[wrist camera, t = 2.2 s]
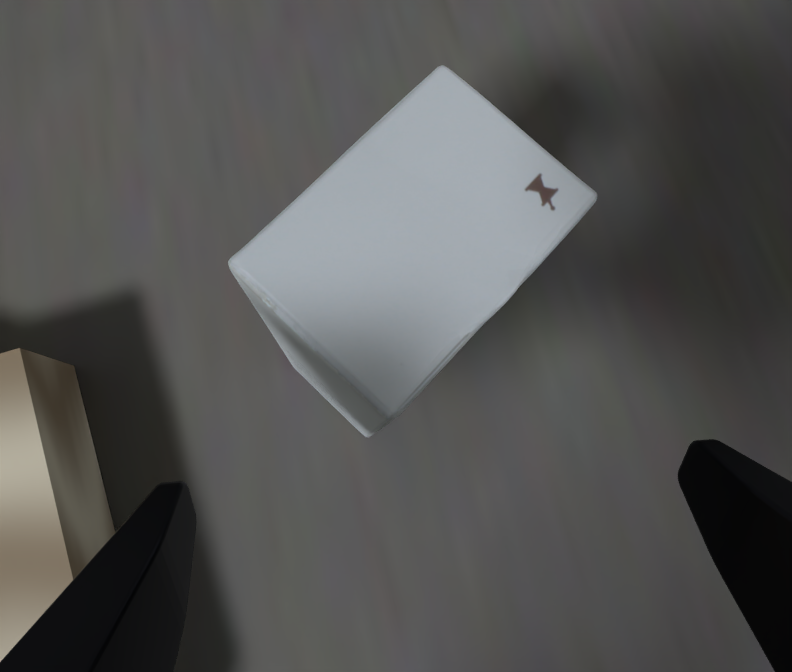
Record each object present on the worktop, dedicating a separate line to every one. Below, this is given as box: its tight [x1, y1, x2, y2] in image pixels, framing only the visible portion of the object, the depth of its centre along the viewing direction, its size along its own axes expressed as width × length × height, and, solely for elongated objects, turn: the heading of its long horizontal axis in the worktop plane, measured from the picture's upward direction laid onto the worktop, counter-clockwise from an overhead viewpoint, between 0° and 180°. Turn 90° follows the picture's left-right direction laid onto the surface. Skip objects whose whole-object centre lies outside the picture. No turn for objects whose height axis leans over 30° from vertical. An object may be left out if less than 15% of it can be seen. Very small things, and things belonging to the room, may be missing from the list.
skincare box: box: [228, 65, 597, 437], centre depth 16 cm, size 6×4×12 cm
